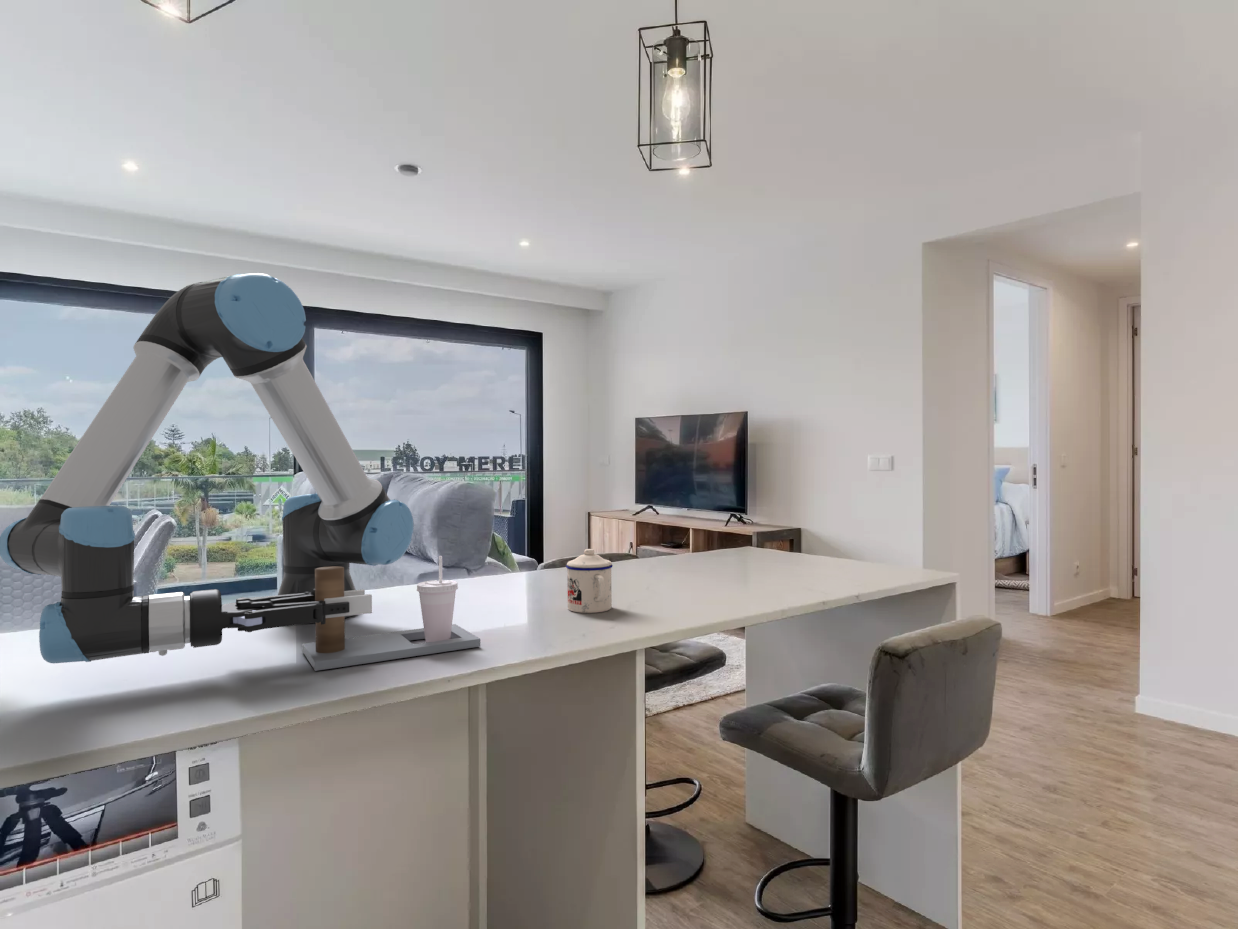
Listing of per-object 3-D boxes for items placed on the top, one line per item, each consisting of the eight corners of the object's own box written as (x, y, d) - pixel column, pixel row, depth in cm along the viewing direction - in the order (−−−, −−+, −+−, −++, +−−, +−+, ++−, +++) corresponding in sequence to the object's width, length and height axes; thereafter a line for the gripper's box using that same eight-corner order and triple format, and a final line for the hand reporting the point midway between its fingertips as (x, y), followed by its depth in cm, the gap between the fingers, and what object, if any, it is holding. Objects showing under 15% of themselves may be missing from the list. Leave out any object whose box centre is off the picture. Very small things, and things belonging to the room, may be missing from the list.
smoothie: (447, 650, 111) (447, 559, 111) (409, 648, 112) (408, 558, 112) (465, 639, 117) (464, 553, 117) (428, 638, 118) (427, 553, 118)
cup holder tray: (302, 651, 110) (301, 565, 110) (455, 631, 122) (454, 553, 122) (315, 670, 99) (314, 575, 99) (480, 646, 112) (479, 561, 112)
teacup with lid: (560, 606, 143) (559, 548, 143) (602, 602, 147) (602, 545, 147) (580, 618, 132) (580, 555, 132) (626, 614, 136) (625, 552, 136)
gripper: (187, 634, 104) (355, 615, 116) (189, 662, 89) (381, 637, 102) (186, 583, 104) (355, 569, 116) (188, 602, 89) (381, 584, 102)
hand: (367, 600), depth 109 cm, fingers closed on cup holder tray, 4 cm apart
